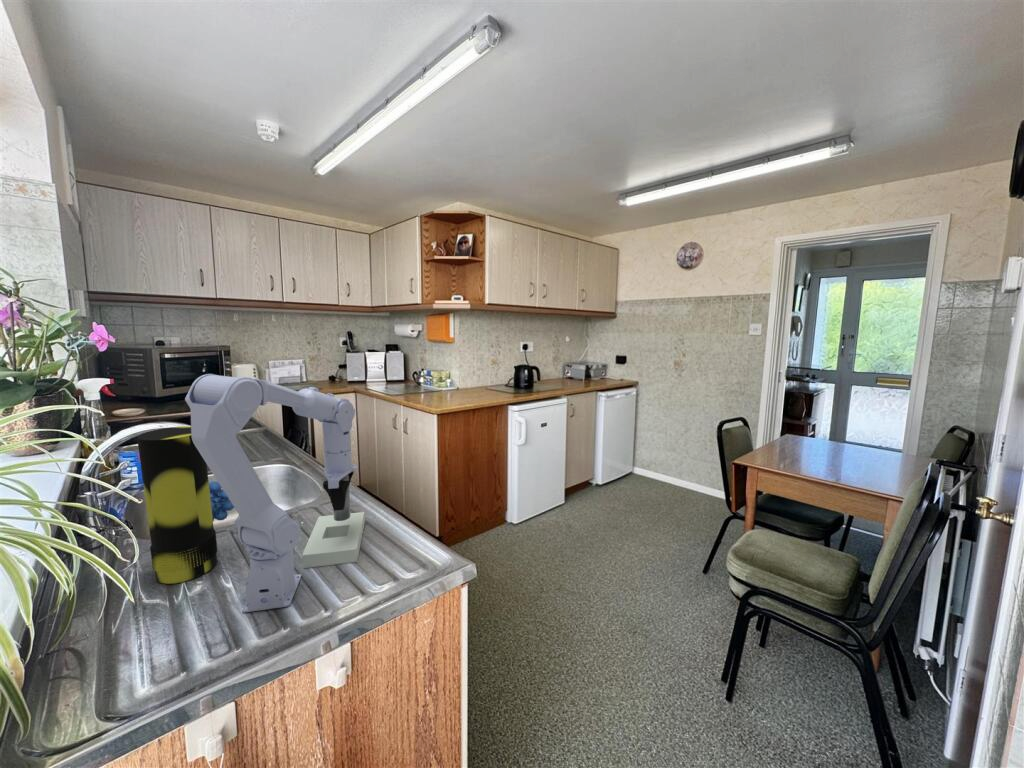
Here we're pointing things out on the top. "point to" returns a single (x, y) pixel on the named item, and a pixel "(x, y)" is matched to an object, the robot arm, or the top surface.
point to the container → (177, 505)
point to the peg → (344, 514)
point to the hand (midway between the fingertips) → (340, 505)
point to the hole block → (334, 541)
